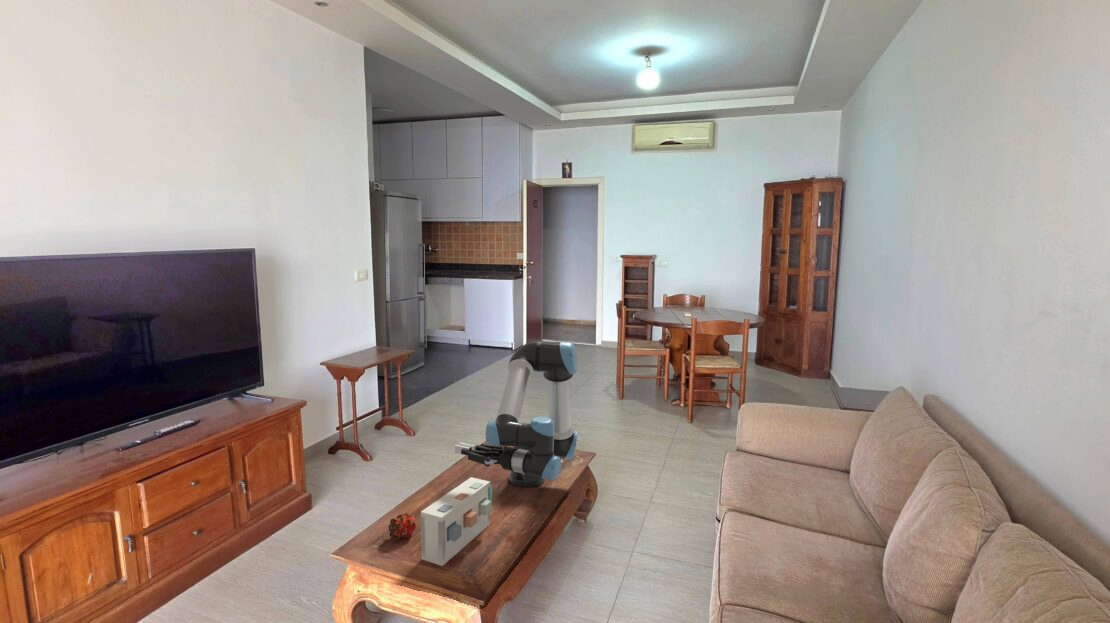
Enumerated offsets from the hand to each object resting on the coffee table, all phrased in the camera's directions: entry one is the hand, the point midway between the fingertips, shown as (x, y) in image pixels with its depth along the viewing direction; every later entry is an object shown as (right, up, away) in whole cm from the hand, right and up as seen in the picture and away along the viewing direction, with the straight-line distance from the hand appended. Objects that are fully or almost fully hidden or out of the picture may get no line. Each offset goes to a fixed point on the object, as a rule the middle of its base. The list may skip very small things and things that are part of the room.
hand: (457, 447), depth 193 cm
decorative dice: (+5, -26, +17) cm, 32 cm away
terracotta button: (+5, -23, -11) cm, 26 cm away
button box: (+2, -29, -8) cm, 30 cm away
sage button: (+9, -22, -2) cm, 24 cm away
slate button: (+2, -24, -19) cm, 30 cm away
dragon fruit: (-17, -29, -5) cm, 34 cm away
